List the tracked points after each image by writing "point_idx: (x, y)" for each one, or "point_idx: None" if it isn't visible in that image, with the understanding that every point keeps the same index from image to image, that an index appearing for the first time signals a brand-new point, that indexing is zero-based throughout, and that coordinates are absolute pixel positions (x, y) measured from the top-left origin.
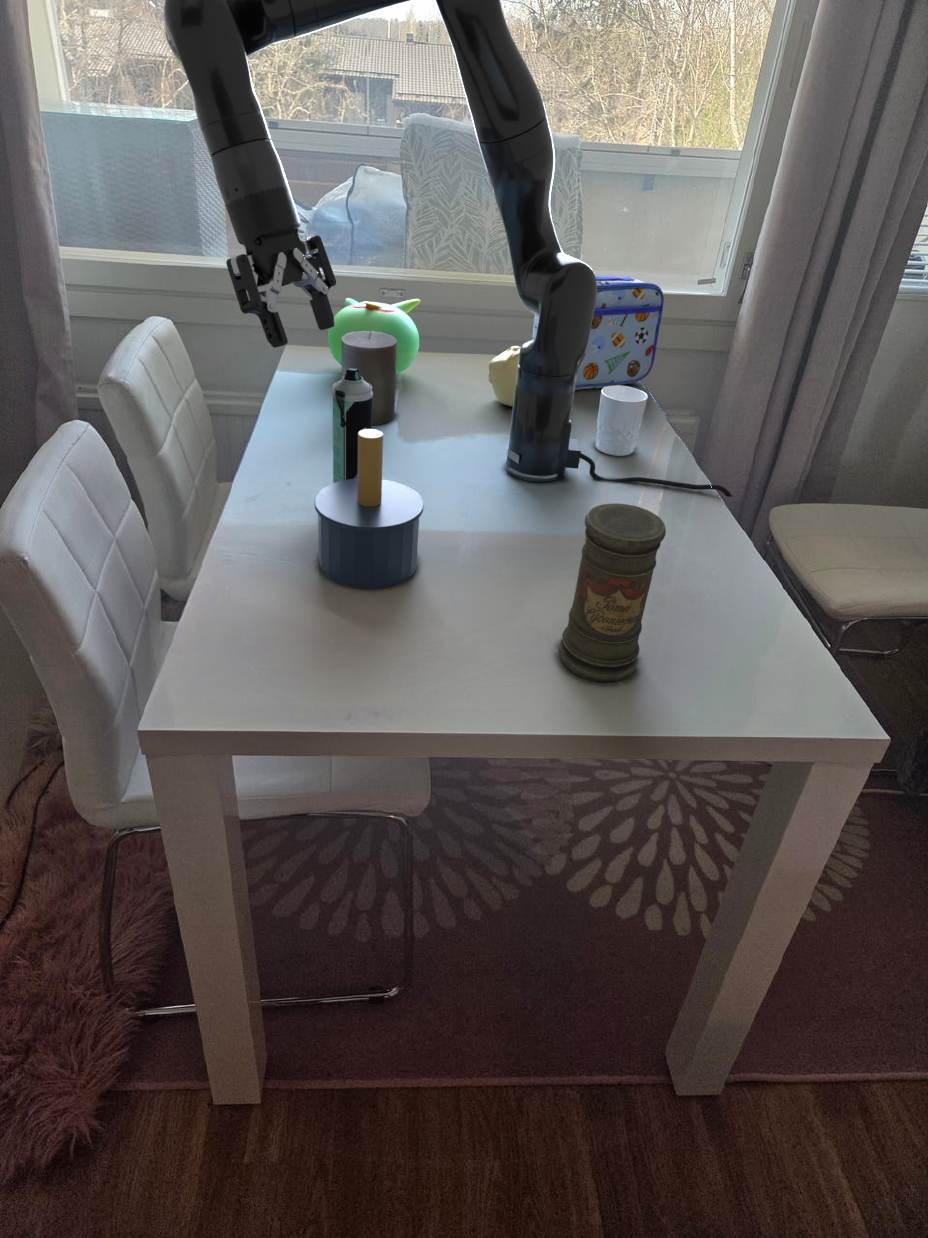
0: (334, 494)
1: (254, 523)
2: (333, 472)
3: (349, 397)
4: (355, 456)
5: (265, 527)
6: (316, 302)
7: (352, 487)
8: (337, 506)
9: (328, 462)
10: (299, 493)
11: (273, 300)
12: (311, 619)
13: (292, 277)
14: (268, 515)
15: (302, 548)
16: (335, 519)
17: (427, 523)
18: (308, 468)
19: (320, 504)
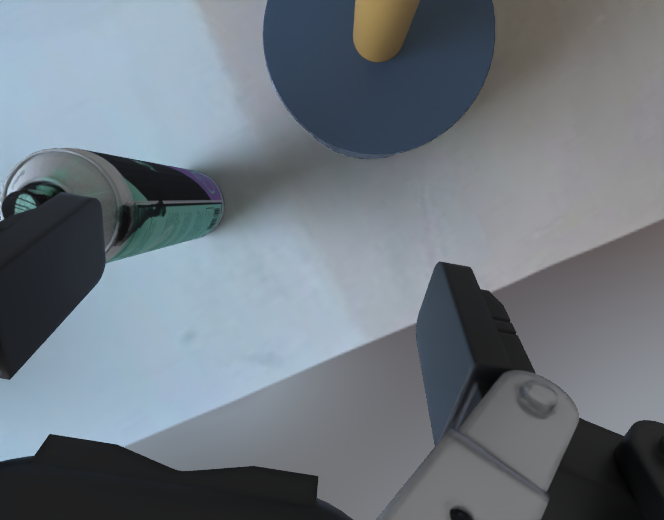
0: (386, 118)
1: (342, 310)
2: (193, 235)
3: (123, 190)
4: (180, 180)
5: (345, 287)
6: (16, 319)
7: (337, 100)
8: (432, 85)
9: (70, 321)
10: (209, 302)
11: (511, 419)
12: (560, 76)
13: (155, 496)
14: (307, 305)
15: (377, 198)
16: (485, 59)
17: (189, 46)
18: (114, 339)
19: (440, 120)
